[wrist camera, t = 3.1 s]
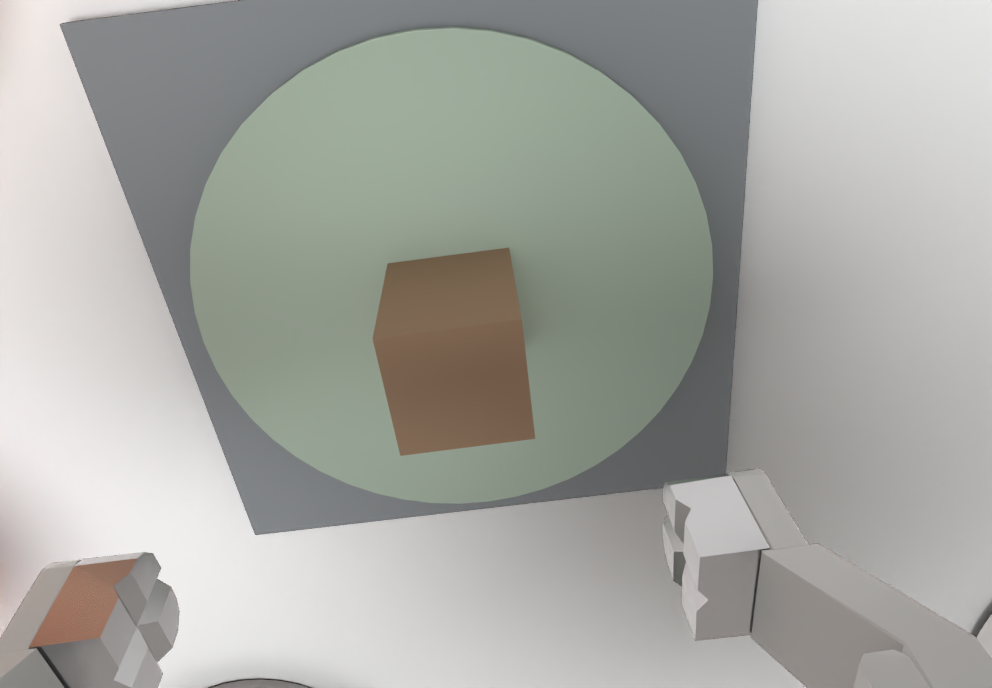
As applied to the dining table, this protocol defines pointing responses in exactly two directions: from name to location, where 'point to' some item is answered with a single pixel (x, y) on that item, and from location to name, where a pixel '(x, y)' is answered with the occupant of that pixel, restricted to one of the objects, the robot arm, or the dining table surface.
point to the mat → (378, 11)
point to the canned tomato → (259, 684)
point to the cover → (451, 265)
